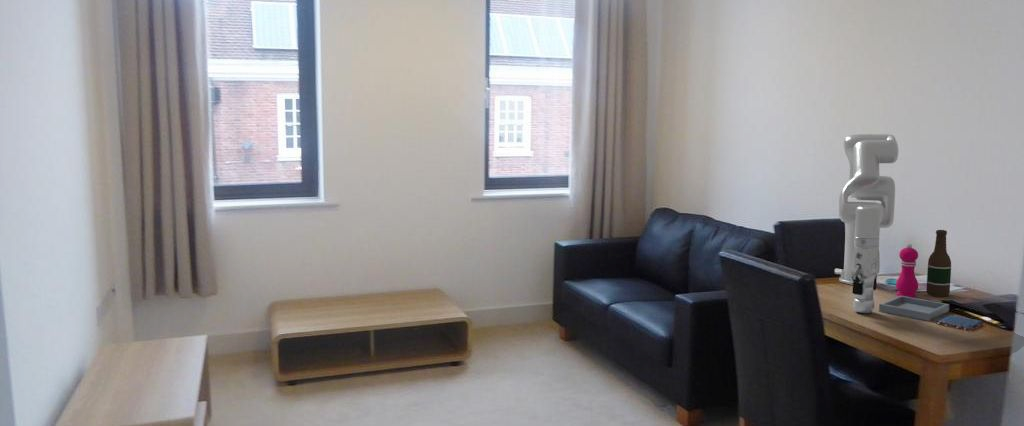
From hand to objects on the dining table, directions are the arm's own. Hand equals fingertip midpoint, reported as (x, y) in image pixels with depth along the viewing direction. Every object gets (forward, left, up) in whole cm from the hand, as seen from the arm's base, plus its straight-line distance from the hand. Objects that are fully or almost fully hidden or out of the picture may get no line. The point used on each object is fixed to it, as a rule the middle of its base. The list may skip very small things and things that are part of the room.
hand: (864, 291), depth 248 cm
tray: (+11, +13, -7) cm, 19 cm away
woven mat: (+27, +8, -8) cm, 29 cm away
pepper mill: (+2, +29, -7) cm, 30 cm away
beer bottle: (+8, +41, -7) cm, 42 cm away
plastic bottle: (0, 0, -7) cm, 7 cm away
